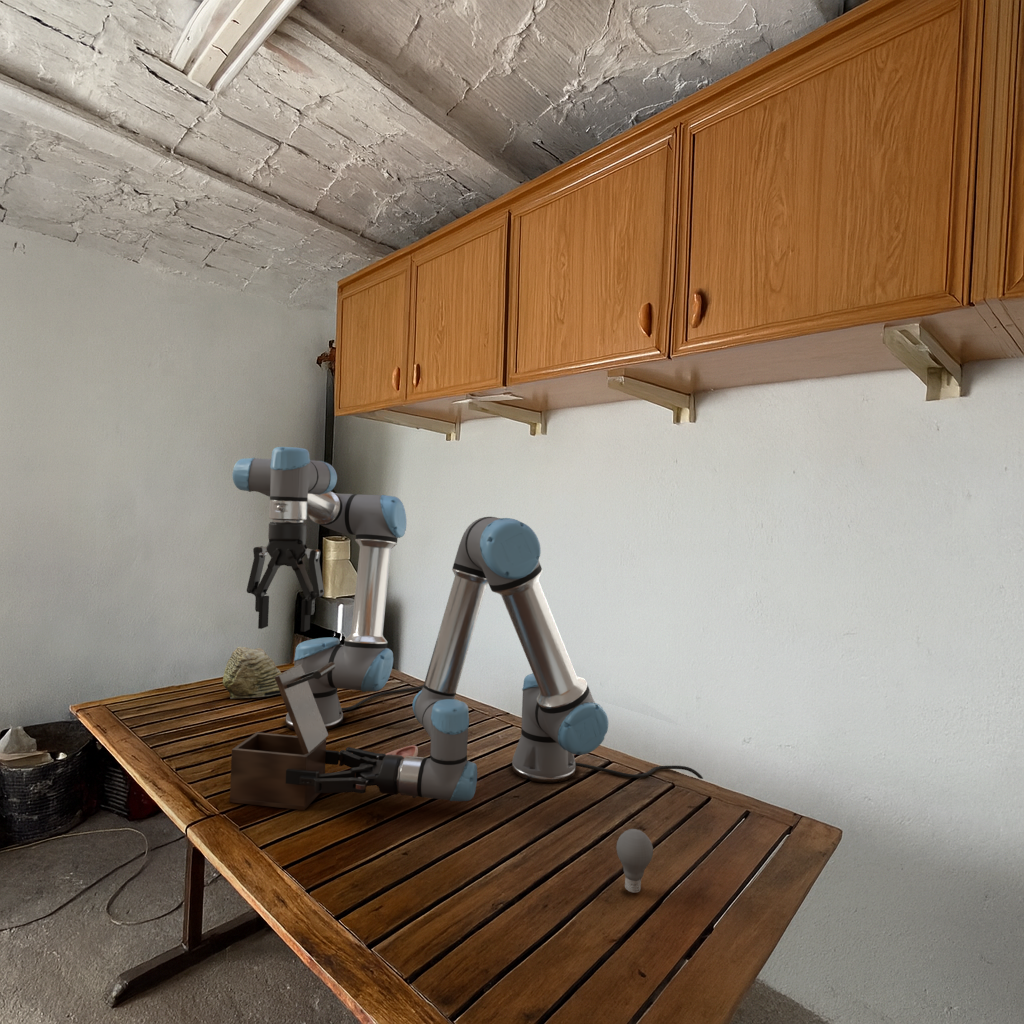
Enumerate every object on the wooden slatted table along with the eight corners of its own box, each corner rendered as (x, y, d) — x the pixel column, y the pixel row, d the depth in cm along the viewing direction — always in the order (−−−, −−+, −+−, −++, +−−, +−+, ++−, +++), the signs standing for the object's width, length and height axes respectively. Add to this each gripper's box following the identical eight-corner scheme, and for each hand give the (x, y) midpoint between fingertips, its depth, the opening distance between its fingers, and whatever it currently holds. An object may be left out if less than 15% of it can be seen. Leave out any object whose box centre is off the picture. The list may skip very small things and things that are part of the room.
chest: (229, 802, 130) (231, 749, 129) (254, 781, 139) (256, 732, 139) (304, 810, 128) (306, 756, 128) (324, 788, 138) (326, 738, 137)
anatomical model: (351, 756, 145) (372, 738, 156) (350, 773, 145) (371, 754, 156) (406, 763, 142) (423, 744, 154) (405, 780, 143) (422, 760, 154)
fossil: (218, 695, 195) (220, 647, 195) (278, 685, 208) (279, 640, 207) (228, 703, 189) (230, 653, 188) (289, 692, 201) (290, 645, 201)
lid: (274, 677, 128) (313, 662, 127) (296, 665, 138) (332, 650, 137) (304, 754, 128) (343, 740, 127) (324, 736, 137) (360, 723, 136)
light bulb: (610, 879, 108) (613, 822, 108) (644, 879, 109) (647, 822, 109) (619, 902, 102) (622, 840, 102) (655, 901, 103) (658, 840, 103)
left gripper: (230, 519, 130) (226, 629, 130) (329, 524, 127) (325, 636, 128) (249, 518, 137) (245, 622, 138) (343, 523, 135) (339, 628, 135)
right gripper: (383, 820, 119) (271, 808, 122) (415, 770, 142) (320, 761, 144) (385, 781, 119) (272, 769, 122) (416, 737, 141) (321, 728, 144)
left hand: (284, 628), depth 133 cm, fingers open, 9 cm apart
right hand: (298, 765), depth 133 cm, fingers closed on chest, 10 cm apart
